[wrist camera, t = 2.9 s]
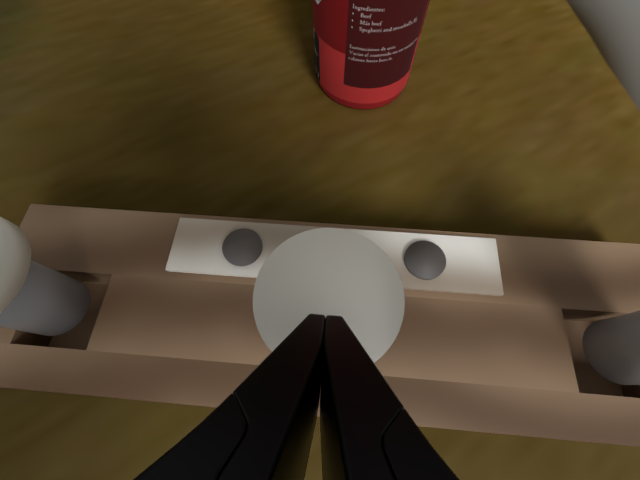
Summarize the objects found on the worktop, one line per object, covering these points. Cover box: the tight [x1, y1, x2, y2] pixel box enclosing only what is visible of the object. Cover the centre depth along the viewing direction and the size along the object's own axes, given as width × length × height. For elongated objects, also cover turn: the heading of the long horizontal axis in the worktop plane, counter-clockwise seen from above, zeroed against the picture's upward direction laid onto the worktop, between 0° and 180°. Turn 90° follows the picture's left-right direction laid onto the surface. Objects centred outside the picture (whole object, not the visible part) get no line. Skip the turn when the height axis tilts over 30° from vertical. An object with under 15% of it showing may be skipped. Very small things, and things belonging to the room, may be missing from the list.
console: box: [0, 204, 640, 447], centre depth 19 cm, size 10×37×4 cm, turn 85°
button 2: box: [0, 217, 90, 336], centre depth 15 cm, size 5×5×6 cm
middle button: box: [253, 228, 405, 363], centre depth 14 cm, size 5×5×6 cm
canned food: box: [313, 0, 430, 109], centre depth 24 cm, size 8×8×11 cm
